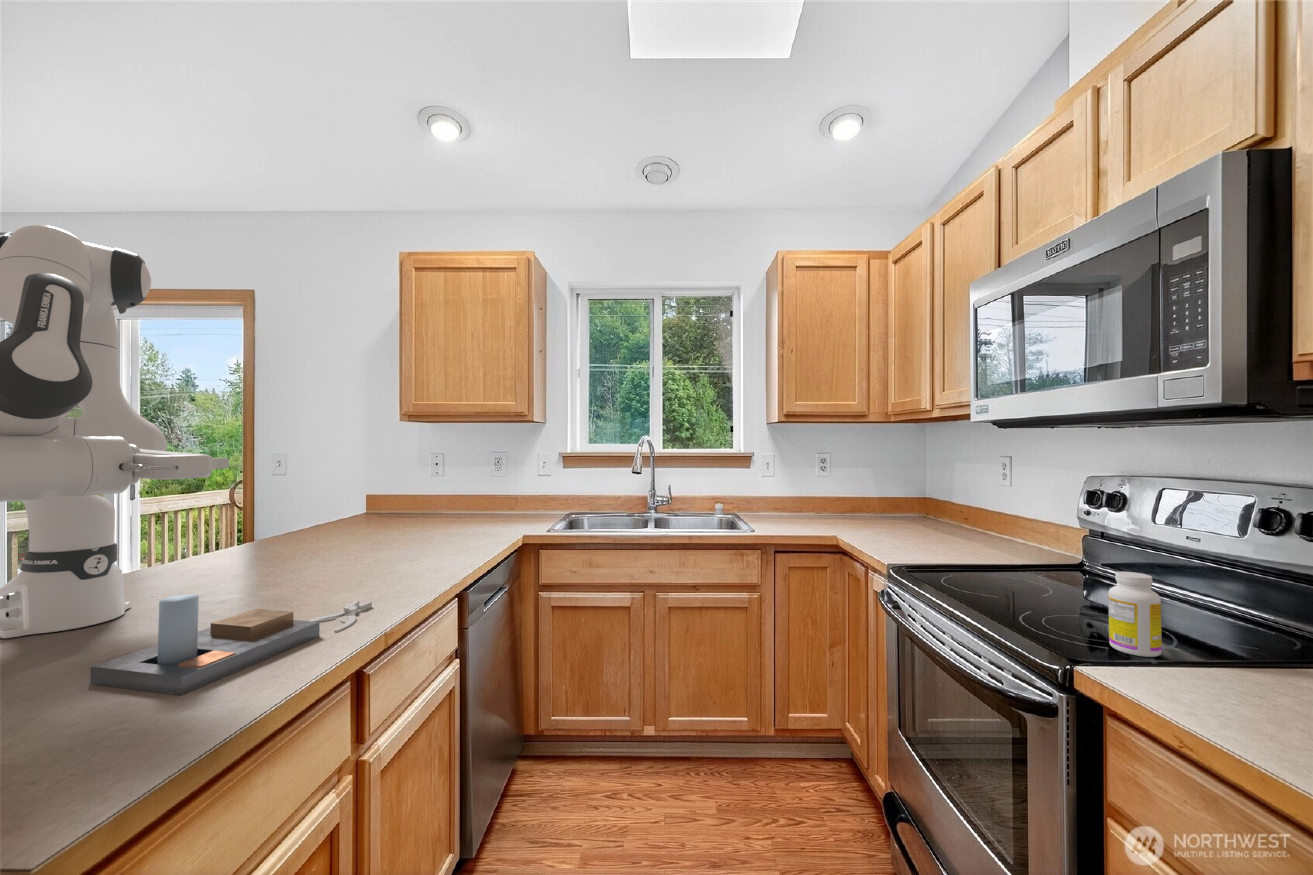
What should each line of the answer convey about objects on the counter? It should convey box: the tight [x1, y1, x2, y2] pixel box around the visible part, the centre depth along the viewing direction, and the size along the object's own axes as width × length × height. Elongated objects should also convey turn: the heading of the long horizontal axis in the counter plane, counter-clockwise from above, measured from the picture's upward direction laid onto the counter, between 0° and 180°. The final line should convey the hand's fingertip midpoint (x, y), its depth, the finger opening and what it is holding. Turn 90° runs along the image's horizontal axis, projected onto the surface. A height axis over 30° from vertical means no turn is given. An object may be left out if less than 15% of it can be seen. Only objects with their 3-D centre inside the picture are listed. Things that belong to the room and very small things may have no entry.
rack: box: [89, 608, 321, 696], centre depth 85 cm, size 16×23×4 cm
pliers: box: [307, 600, 373, 633], centre depth 105 cm, size 10×2×15 cm
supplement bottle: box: [1107, 571, 1163, 658], centre depth 90 cm, size 7×7×13 cm
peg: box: [157, 594, 200, 666], centre depth 80 cm, size 4×4×11 cm
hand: (209, 461), depth 93 cm, fingers open, 8 cm apart
